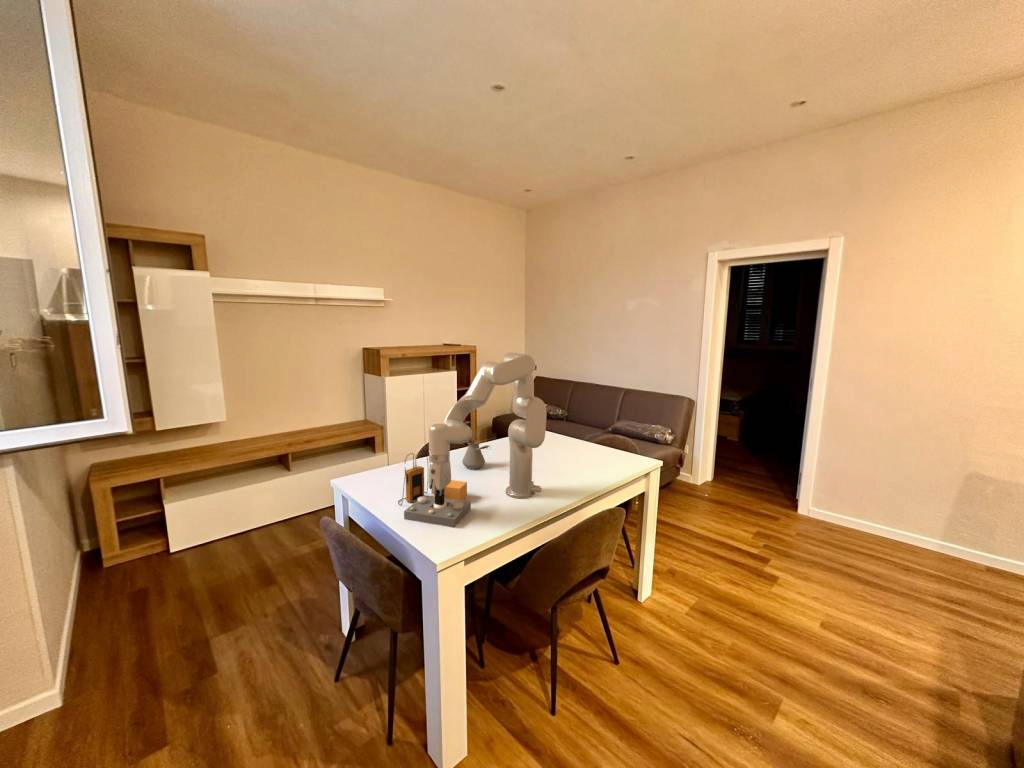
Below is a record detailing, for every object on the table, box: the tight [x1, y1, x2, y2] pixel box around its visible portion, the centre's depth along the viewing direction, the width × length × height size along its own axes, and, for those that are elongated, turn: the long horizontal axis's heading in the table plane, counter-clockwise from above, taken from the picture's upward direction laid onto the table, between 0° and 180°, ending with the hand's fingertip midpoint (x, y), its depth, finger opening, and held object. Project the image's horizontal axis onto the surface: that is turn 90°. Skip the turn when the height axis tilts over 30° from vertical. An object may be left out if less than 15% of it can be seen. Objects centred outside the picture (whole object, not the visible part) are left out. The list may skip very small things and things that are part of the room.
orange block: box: [443, 479, 468, 501], centre depth 166 cm, size 7×7×6 cm
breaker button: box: [434, 502, 447, 509], centre depth 153 cm, size 5×5×3 cm
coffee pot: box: [461, 439, 492, 470], centre depth 198 cm, size 21×12×15 cm, turn 33°
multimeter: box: [397, 450, 429, 506], centre depth 165 cm, size 15×10×20 cm
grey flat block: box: [403, 494, 472, 528], centre depth 151 cm, size 20×15×4 cm
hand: (439, 504), depth 153 cm, fingers closed
